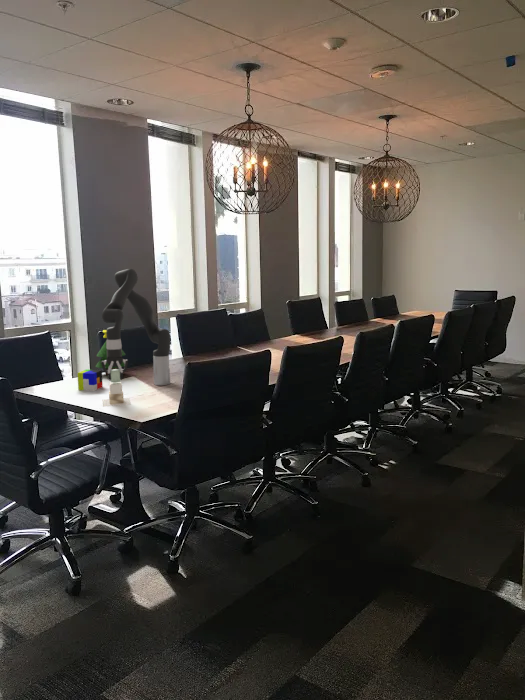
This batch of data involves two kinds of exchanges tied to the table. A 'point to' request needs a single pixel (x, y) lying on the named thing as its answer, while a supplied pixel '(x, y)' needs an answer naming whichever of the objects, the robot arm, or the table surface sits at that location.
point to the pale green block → (115, 375)
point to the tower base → (116, 398)
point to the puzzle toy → (90, 380)
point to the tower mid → (115, 388)
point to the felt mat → (107, 403)
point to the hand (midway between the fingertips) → (115, 379)
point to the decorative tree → (103, 354)
